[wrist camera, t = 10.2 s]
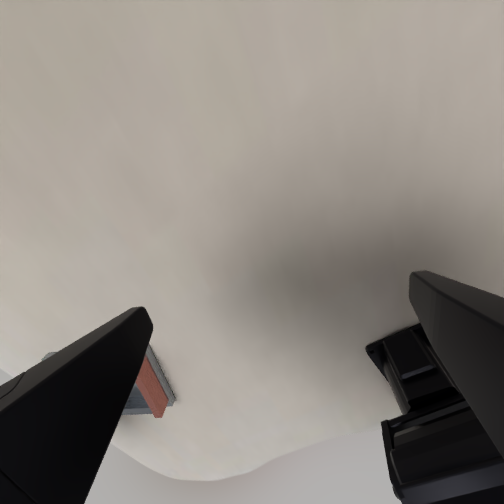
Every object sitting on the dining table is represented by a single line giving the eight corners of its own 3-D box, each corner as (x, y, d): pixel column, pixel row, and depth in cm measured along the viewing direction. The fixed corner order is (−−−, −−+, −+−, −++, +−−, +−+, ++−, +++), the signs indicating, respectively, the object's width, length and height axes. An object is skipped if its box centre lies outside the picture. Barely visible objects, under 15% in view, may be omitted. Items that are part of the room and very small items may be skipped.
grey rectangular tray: (148, 343, 29) (134, 365, 26) (175, 398, 32) (165, 423, 29) (48, 352, 31) (26, 374, 28) (84, 403, 34) (67, 426, 32)
